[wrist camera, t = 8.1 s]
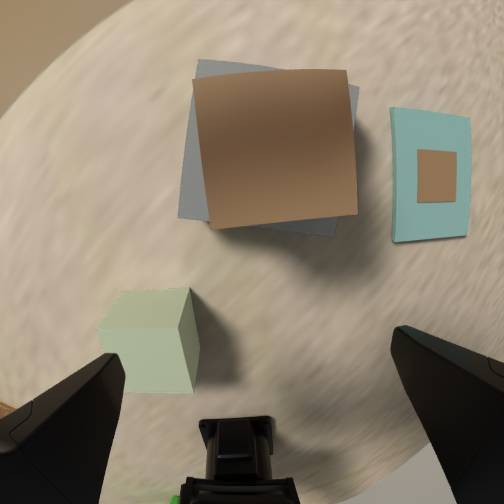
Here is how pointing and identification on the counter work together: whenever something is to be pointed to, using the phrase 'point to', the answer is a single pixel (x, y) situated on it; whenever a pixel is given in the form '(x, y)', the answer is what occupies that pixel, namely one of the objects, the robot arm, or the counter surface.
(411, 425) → the counter surface
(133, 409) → the counter surface
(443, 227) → the card
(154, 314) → the sage cube
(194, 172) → the slate block
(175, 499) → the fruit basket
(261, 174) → the walnut cube
